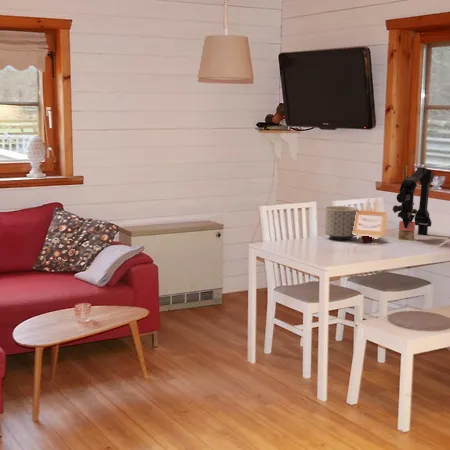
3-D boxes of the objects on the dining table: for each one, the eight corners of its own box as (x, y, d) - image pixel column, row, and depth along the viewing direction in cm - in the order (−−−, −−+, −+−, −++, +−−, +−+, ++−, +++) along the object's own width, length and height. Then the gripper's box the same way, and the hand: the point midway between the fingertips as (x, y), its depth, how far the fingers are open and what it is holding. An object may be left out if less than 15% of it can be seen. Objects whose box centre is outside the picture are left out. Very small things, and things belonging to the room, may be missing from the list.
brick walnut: (398, 239, 440) (398, 230, 439) (400, 238, 443) (400, 229, 442) (411, 240, 436) (412, 232, 435) (413, 239, 439) (414, 231, 438)
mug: (371, 240, 440) (372, 223, 439) (380, 242, 433) (381, 225, 432) (357, 242, 435) (358, 224, 434) (366, 244, 428) (366, 227, 427)
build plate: (399, 238, 448) (399, 236, 447) (419, 240, 442) (419, 238, 442) (392, 241, 437) (393, 239, 437) (413, 243, 432) (413, 241, 431)
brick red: (398, 230, 439) (399, 221, 438) (401, 229, 442) (401, 220, 441) (412, 231, 435) (412, 222, 434) (414, 230, 438) (415, 222, 437)
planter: (331, 242, 433) (332, 211, 430) (319, 236, 452) (321, 206, 449) (362, 241, 438) (363, 210, 435) (349, 235, 456) (350, 205, 453)
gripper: (399, 198, 448) (398, 224, 450) (389, 201, 432) (388, 228, 434) (418, 199, 442) (416, 226, 445) (408, 203, 426) (407, 230, 429)
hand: (406, 227), depth 438 cm, fingers open, 4 cm apart
